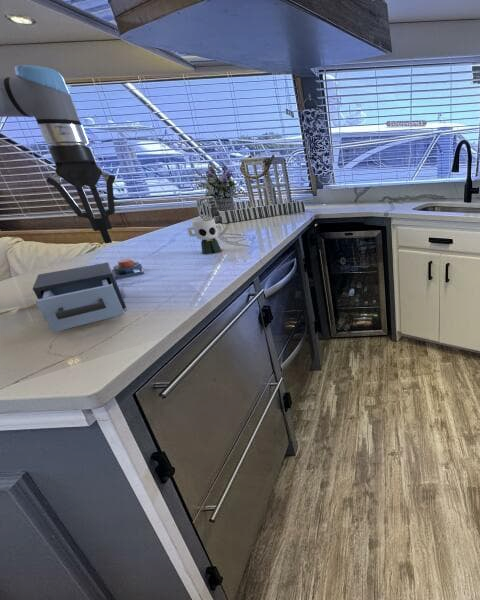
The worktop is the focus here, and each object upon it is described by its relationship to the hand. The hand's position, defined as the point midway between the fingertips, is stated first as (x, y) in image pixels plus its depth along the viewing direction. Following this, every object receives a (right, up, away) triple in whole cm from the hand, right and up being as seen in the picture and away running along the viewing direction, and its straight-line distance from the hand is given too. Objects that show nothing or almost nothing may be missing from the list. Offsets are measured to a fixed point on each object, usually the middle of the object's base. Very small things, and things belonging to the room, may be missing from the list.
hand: (108, 242), depth 86 cm
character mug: (+9, +1, +33) cm, 34 cm away
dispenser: (+4, -17, -9) cm, 20 cm away
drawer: (+11, -19, -17) cm, 28 cm away
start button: (-4, -5, +10) cm, 12 cm away
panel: (-6, -10, +10) cm, 15 cm away
